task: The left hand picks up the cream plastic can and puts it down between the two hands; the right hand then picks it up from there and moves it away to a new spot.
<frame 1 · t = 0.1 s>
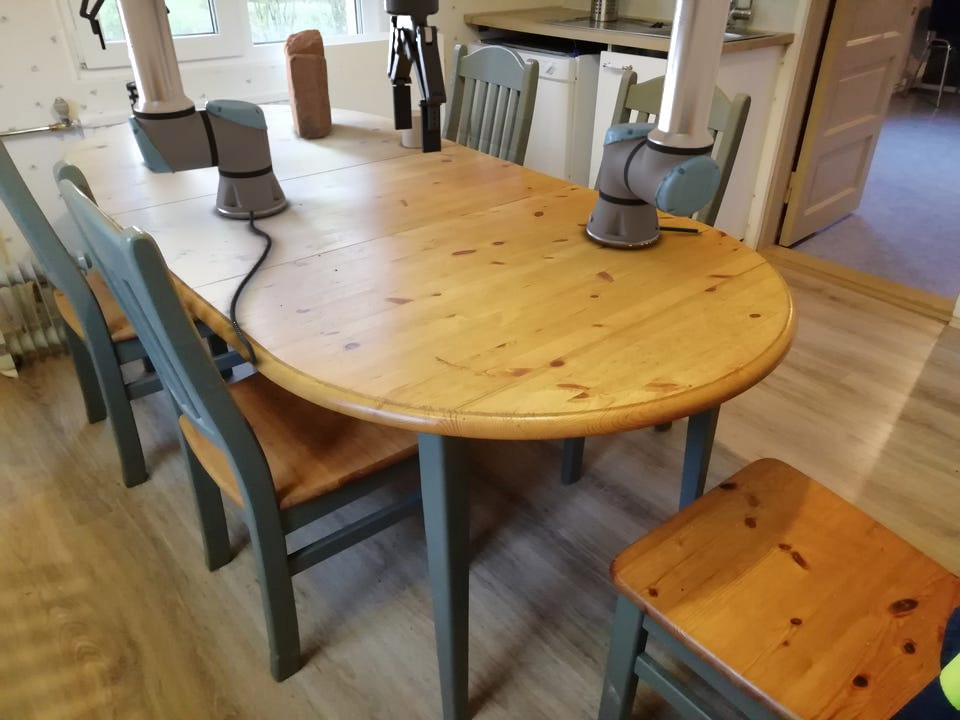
left hand: (133, 47, 174), 28 cm above the table, tool pointing down, fingers open, 13 cm apart
right hand: (416, 140, 105), 28 cm above the table, tool pointing down, fingers open, 13 cm apart
stone: (313, 130, 216), on the table
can: (415, 144, 204), on the table
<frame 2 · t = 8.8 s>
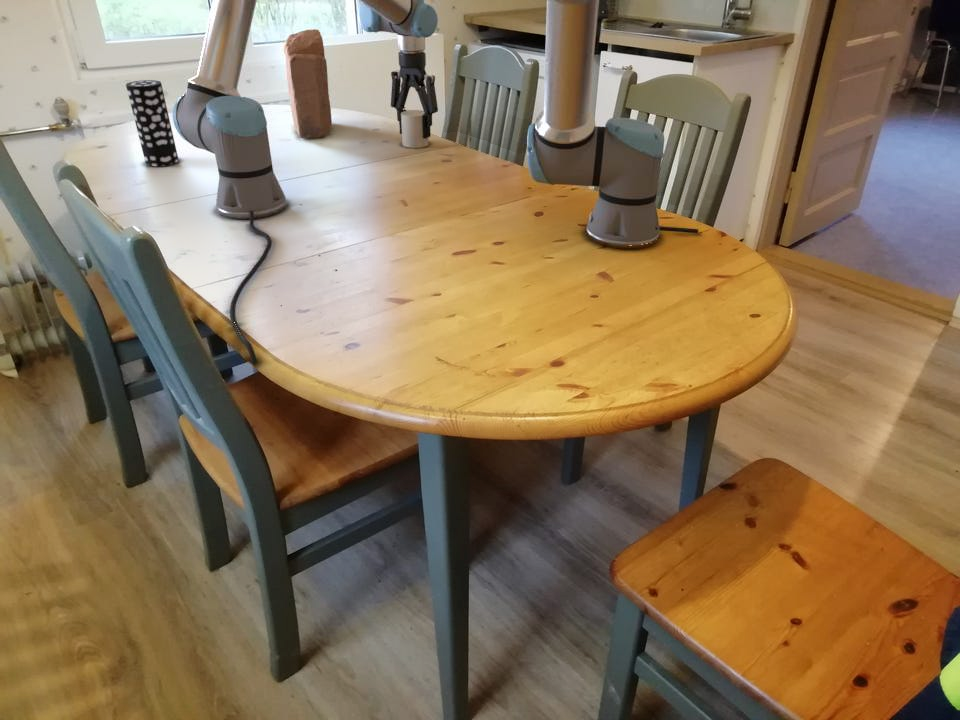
left hand: (415, 135, 203), 3 cm above the table, tool pointing down, fingers closed on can, 8 cm apart
right hand: (576, 49, 158), 32 cm above the table, tool pointing down, fingers open, 13 cm apart
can: (415, 144, 204), on the table, touching left hand
everything else where it was.
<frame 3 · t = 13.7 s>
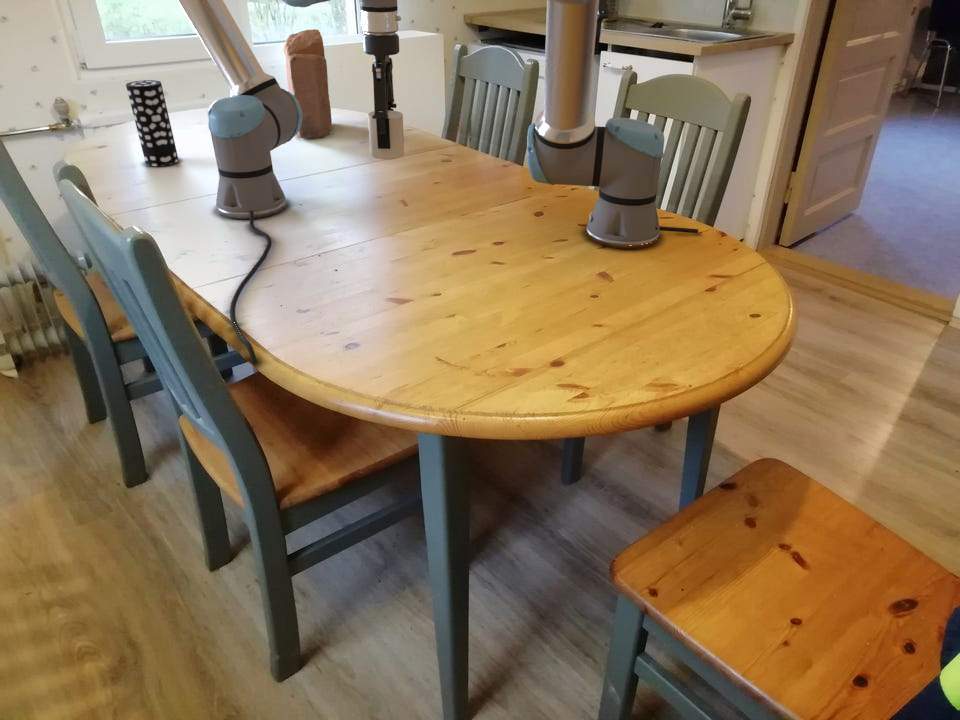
left hand: (386, 142, 157), 13 cm above the table, tool pointing down, fingers closed on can, 8 cm apart
right hand: (576, 49, 158), 32 cm above the table, tool pointing down, fingers open, 13 cm apart
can: (387, 154, 158), point 11 cm above the table, touching left hand
everything else where it was.
when the left hand's fingers open (4 cm above the table, at t = 18.9 s): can drops 1 cm, on the table.
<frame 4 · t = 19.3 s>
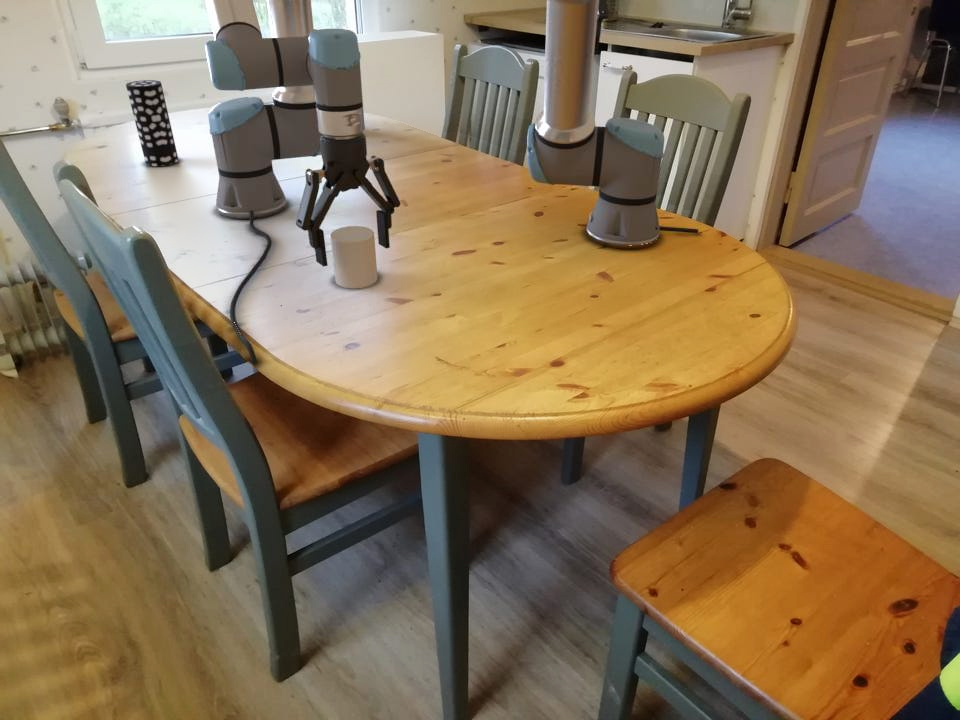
left hand: (353, 254, 125), 5 cm above the table, tool pointing down, fingers open, 12 cm apart
right hand: (576, 49, 158), 32 cm above the table, tool pointing down, fingers open, 13 cm apart
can: (356, 279, 128), on the table
everything else where it was.
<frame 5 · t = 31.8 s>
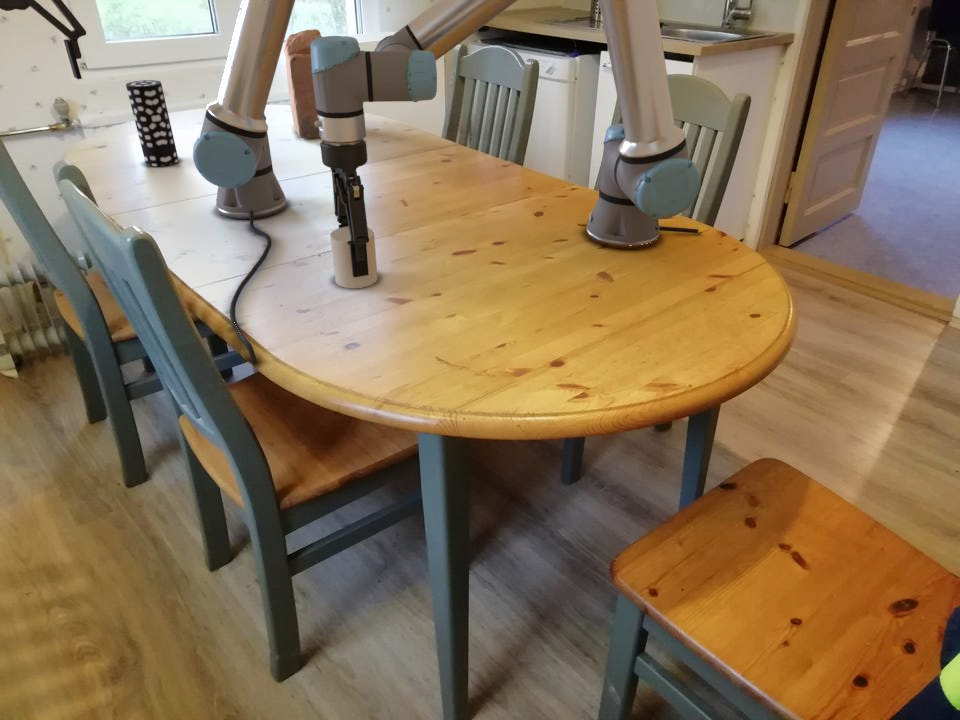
left hand: (38, 82, 127), 30 cm above the table, tool pointing down, fingers open, 13 cm apart
right hand: (355, 265, 126), 3 cm above the table, tool pointing down, fingers closed on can, 8 cm apart
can: (356, 279, 128), on the table, touching right hand
everything else where it was.
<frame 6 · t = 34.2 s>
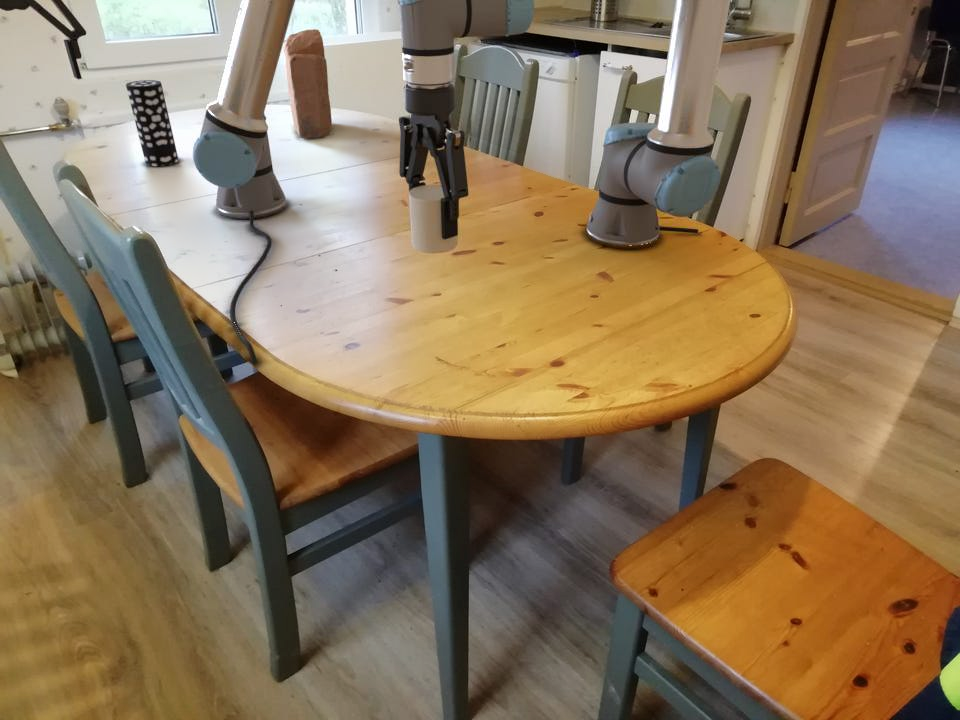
left hand: (38, 82, 127), 30 cm above the table, tool pointing down, fingers open, 13 cm apart
right hand: (434, 228, 114), 13 cm above the table, tool pointing down, fingers closed on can, 8 cm apart
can: (434, 244, 116), point 10 cm above the table, touching right hand
everything else where it was.
when the right hand's fingers open (4 cm above the table, at t = 37.1 s): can stays where it is, on the table.
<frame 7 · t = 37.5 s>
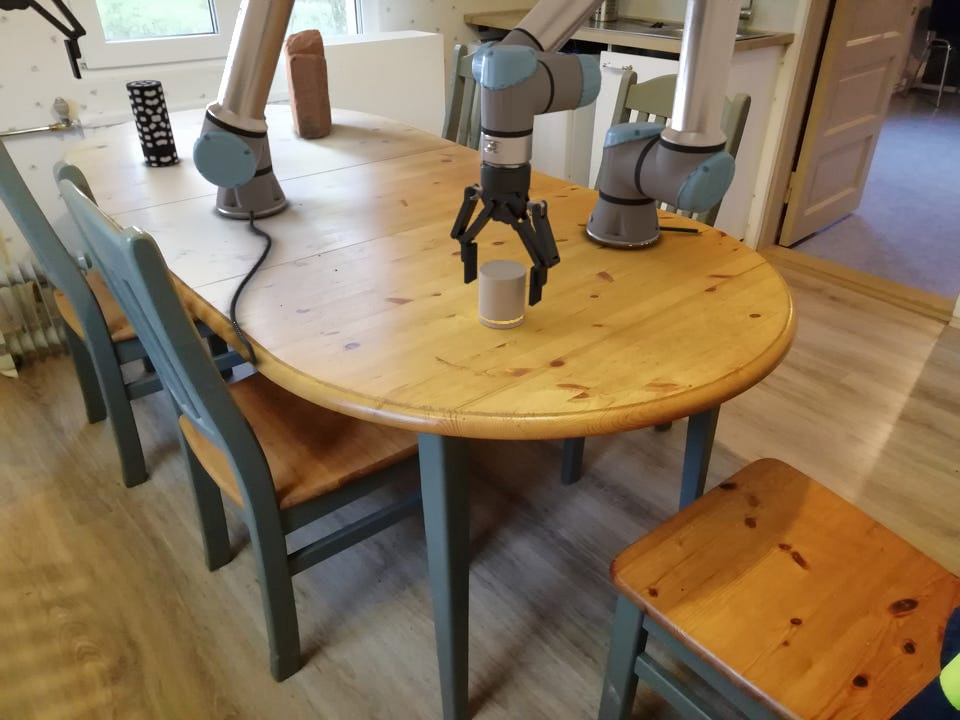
left hand: (38, 82, 127), 30 cm above the table, tool pointing down, fingers open, 13 cm apart
right hand: (501, 291, 113), 5 cm above the table, tool pointing down, fingers open, 12 cm apart
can: (501, 317, 116), on the table
everything else where it was.
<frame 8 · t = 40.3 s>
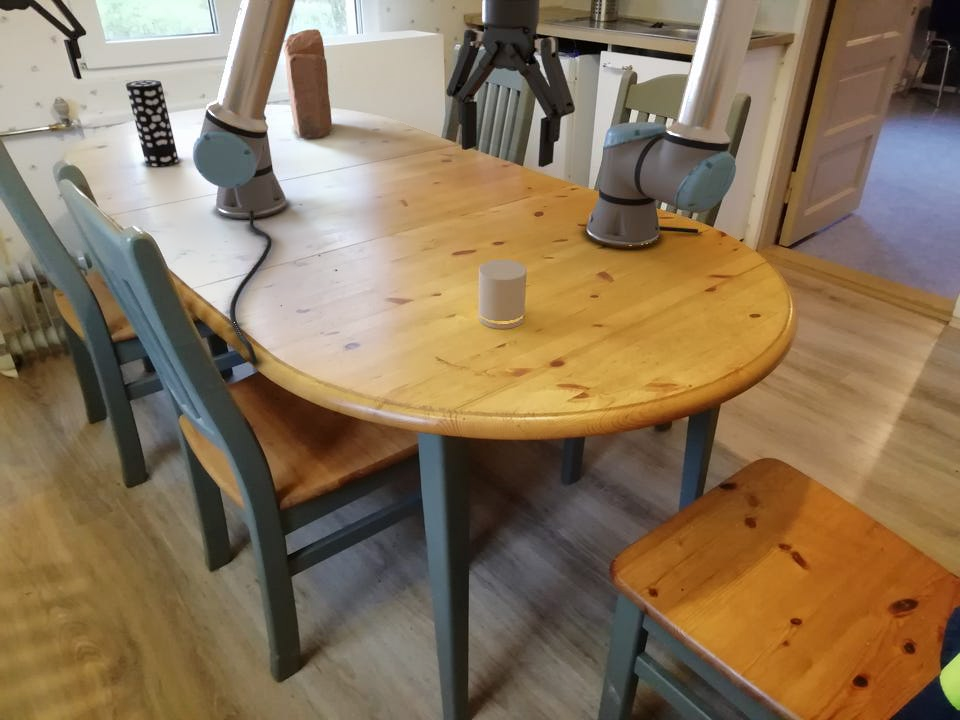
left hand: (38, 82, 127), 30 cm above the table, tool pointing down, fingers open, 13 cm apart
right hand: (506, 156, 101), 27 cm above the table, tool pointing down, fingers open, 13 cm apart
nothing on the table moved.
at the end: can inside the target area (0.1 cm from its centre), on the table; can tilted 0°; the two hands never held the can at the same time; the left hand is holding nothing; the right hand is holding nothing; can at rest at the end (0.0 cm/s) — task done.
